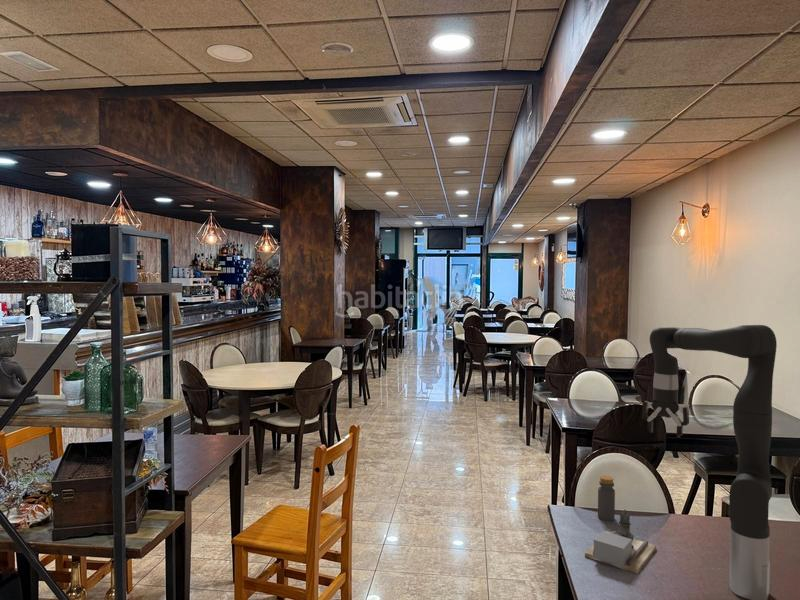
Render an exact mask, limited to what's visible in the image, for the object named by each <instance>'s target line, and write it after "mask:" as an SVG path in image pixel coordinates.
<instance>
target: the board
mask: <svg viewBox="0 0 800 600" xmlns="http://www.w3.org/2000/svg"><path fill="white" fill-rule="evenodd" d="M605 532H608V533H612V534H615V532H616V531H615V530H613V531H612V532H611V531H607V530H606V531H605ZM632 545H633V548H632V557H631V558H630V559H629V560H628V562H627V563H626V564H625V566H624V567H621V566H618V565H615V564H612V563H609V562H606V561H603V560H600V559H597V558H594V557H593V555H594V543H593V544H592V545H591V546H590V547H588V549H587V550H586V551H585V552H584V557H585V558H589V559H592V560H595V561H597V562H601V563H605V564H608V565H610V566H613V567H615V568H619V569H621V570H625V571H628V572H631V573H635V574H638V573H639V572H640V571H641V570H642V569H643V567H644V566H645V564H646V563H647V562H648V560H649V559H650V558H651V556H652V555H653V554H654V552H655V551H656V550H657V545H655V544H652V543H649V540H647V539H645V540H644V541H641V540H637V539H635V538H633V541H632Z"/></svg>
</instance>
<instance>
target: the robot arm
mask: <svg viewBox="0 0 800 600" xmlns="http://www.w3.org/2000/svg"><path fill="white" fill-rule="evenodd" d="M649 344H650V345H649V346H650V349H651V352H652V355H653V360H654V373H653V374H654V375H653V382H652V383H653V387H652V388H653V389H652V394H653V395H652V402H650V401H648V400H645V401H643V402H642V406H641V407H642V410H641V411H642V412H641V419H642V420H645V421H647V423H646V424H647V428H646V429H647V431H648V432H649V433H651V434H652V433H654V420H655V418H656V417H657V416H658V417H661V418H662V417H665V418H667V419H670V418H671V419H672V420H673V421H674V422H675V423H676V425H677V426H676V438H681V436H683V427H684V426H688V425H689V424H690V412H689V411H690V410H689V409H690V408H689V406H688V405H685V406H681V405H679V385H680V384H679V377H678V374H679V373H678V369H679V366H678V363H679V362H678V358H677V357H676V356H673V355H669V352H668V349H681V350H685V351H702V352H703V351H707V352H708V351H710V352H717V353H722V354H726V355H729V356H733V357H737V358H742V359H747V361H748V363H747V373H746V376H745V378H744V380H743V382H742V384H741V386H740V388H739V390H738V391H737V393H736V394H735V395H736V396H735V398H734V401H733V405H732V406H733V407H732V408H733V409H732V411H733V412H732V413H733V415H732V419H733V420H732V423H733V424H732V425H733V431H734V437H735V441H736V444H737V448H738V462H737V472H736V476H735V479H734V480H733V481H732V483H731V484H730V486H729V487H730V488H729V493H728V494H729V497H728V499H729V506H728V511H729V521H730V538H729V541H730V545H729V547H730V548H729V579H728V580H729V581H728V582H729V586H728V587H729V590H730V591H731V592H732V593H733V594H735V595H736V596H739V597H740V598H741V597H742V598H743V599H747V600H768V598H769V594H770V576H771V575H770V574H771V573H770V572H771V570H770V569H771V568H770V567H771V566H770V565H771V560H770V538H771V537H770V536H771V534H770V530H771V527H770V525H769V509H770V508H769V507H770V505H769V503H770V501H771V498H772V495H773V487H772V479H771V472H770V471H771V470H770V450H771V449H770V448H771V442H772V430H773V402H772V401H773V381H774V379H773V378H774V370H775V363H776V362H775V361H776V355H777V346H778V345H777V336H776V335H775V332H774V330H773V329H772V328H770V326H767V325H764V324H752V325H751V324H750V325H749V324H745V325H738V326H733V327H729V328H724V329H708V328H702V327H701V328H700V327H683V328H682V327H655V328H654V329H653V330H651V332H650V335H649ZM650 408H652V409H653V412H652V413H651V414H650V416H649V415H648V413H649V409H650ZM678 411H680V413H681V414H682V419H681V418H680V416H679V414H678V413H677V412H678Z"/></svg>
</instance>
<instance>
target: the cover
mask: <svg viewBox="0 0 800 600" xmlns="http://www.w3.org/2000/svg"><path fill="white" fill-rule="evenodd" d="M608 532H609V531H608ZM608 532H606V531H605V530H602V531H601V532H600V533H599V534H598V535H597V536H596V537H595V538H594V539H593V544H594V555H593V557H594V558H597V559H600V560H603V561H606V562H609V563H612V564H615V565H618V566H621V567H624V566H625V564H626V563H627V562H628V560H629V559H630V558H631V557H632V539H629V538H626V537H622V536H619V535H615V534H612V532H611V533H608Z"/></svg>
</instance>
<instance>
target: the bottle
mask: <svg viewBox="0 0 800 600" xmlns="http://www.w3.org/2000/svg"><path fill="white" fill-rule="evenodd" d="M599 479H600V481H599V486H600V487H598V488H597V517H598V519H600V520H602V521H606V522H607V521H608V522H609V521H614V520H615V515H616V514H615V513H616V512H615V511H616V490H615V489H614V488H613V487H615V483H614V477H612V476H610V475H601V476H599Z"/></svg>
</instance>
